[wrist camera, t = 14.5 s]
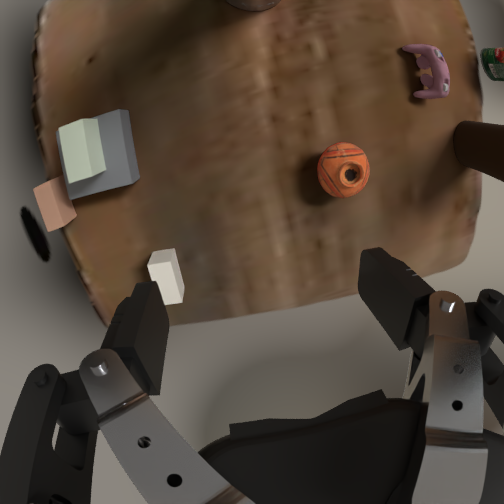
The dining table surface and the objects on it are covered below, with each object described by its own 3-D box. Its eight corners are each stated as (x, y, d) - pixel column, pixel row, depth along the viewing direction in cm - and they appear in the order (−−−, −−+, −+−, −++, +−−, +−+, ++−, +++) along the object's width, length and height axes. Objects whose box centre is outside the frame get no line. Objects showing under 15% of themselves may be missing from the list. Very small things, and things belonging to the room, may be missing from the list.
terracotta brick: (47, 181, 34) (32, 188, 30) (63, 174, 34) (49, 180, 30) (61, 221, 37) (48, 232, 33) (77, 215, 37) (64, 225, 33)
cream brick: (153, 251, 41) (147, 265, 37) (174, 247, 42) (170, 261, 38) (164, 289, 44) (160, 305, 40) (184, 286, 45) (182, 302, 41)
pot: (369, 172, 40) (385, 189, 34) (327, 194, 42) (336, 214, 37) (347, 128, 36) (362, 137, 31) (302, 152, 39) (308, 165, 33)
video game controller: (421, 98, 36) (455, 99, 31) (412, 99, 35) (449, 99, 29) (409, 47, 32) (443, 44, 26) (398, 44, 30) (435, 40, 25)
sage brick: (75, 126, 28) (58, 128, 24) (97, 118, 28) (82, 118, 24) (84, 176, 31) (69, 183, 27) (106, 169, 31) (92, 176, 27)
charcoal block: (68, 130, 31) (55, 131, 28) (128, 110, 32) (119, 109, 28) (81, 193, 36) (69, 200, 32) (140, 178, 36) (132, 183, 33)
